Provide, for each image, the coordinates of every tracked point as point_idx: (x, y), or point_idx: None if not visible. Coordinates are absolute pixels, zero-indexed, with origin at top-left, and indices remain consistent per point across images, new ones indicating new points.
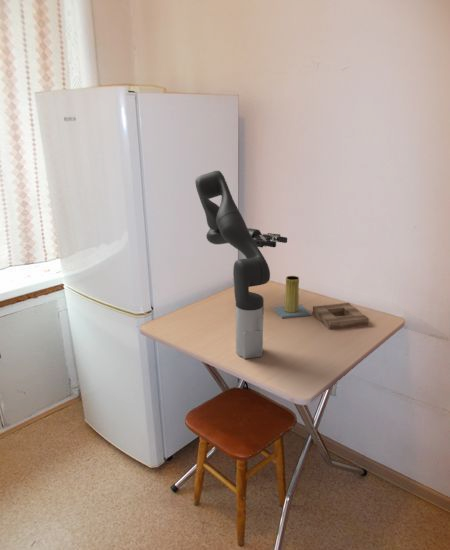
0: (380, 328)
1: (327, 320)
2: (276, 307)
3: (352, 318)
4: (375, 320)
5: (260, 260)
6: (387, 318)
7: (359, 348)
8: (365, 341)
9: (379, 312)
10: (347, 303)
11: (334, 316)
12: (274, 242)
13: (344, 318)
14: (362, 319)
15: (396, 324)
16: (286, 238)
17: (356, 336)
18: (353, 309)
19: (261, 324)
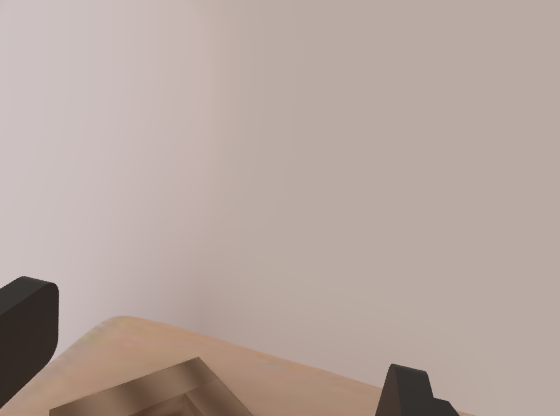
0: (208, 354)
1: None
2: None
3: (219, 393)
4: (150, 362)
5: None
6: (127, 338)
7: (361, 394)
8: (311, 383)
9: (77, 352)
10: (59, 412)
11: None
12: (423, 381)
13: (229, 414)
14: (210, 372)
15: (167, 326)
16: (55, 286)
17: (292, 402)
18: (128, 392)
19: None
